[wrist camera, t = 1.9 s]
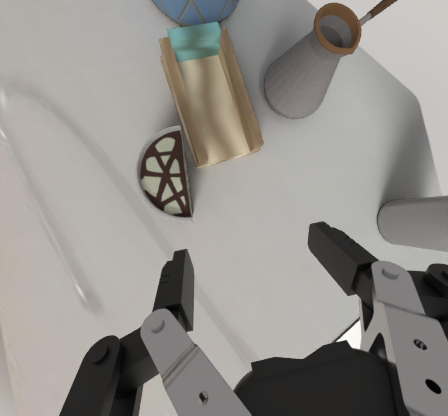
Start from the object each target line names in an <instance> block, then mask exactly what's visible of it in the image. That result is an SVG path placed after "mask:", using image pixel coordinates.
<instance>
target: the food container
mask: <svg viewBox="0 0 448 416" xmlns="http://www.w3.org/2000/svg"><path fill="white" fill-rule="evenodd" d="M181 131H182V130H181V126H180V125H178V126H172V127H169V128H166V129H163V130H161V131H159V132H158V133H156V134H155V135H153V136H152V137H151V138H150V139H149V140H148V141H147V142H146V144H145V145H144V146H143V148H142V150H141V152H140V154H139V157H138V160H137V164H136V180H137V185H138V188H139V190H140V193H141V195H142V196H143V198H144V200H145V201H146V203H147V204H148V205H149V206H150V207H151V208H152V209H153V210H154V211H155V212H156V213H158V214H159V215H161V216H163V217H165V218H167V219H169V220H172V221H176V222H184V223H190V222H193V220H192V216H193V205H192V197H191V189H190V181H189V173H188V165H187V158H186V153H185V148H184V142H183V137H182V132H181Z"/></svg>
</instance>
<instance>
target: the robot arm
mask: <svg viewBox="0 0 448 416" xmlns="http://www.w3.org/2000/svg"><path fill="white" fill-rule="evenodd" d="M378 227H379V231H380V233H381V235H382V236H383V238H384V239H386V240H387V241H388V242H390V243H392V244H396V245H403V246H410V247H417V248H424V249H431V250H438V251H445V252H448V196H437V197H426V198H413V199H402V200H392V201H389V202H387V203H386V204H385V205H384V206H383V207H382V208H381V210H380V212H379V215H378ZM308 247H309V249H310V251H311V252H312V253H313V255H314V256H315V257H316V258H317V259H318V261H319V262H320V263H321V264H322V265H323V267H324V268H325V269H326V270H327V271H328V273H329V274H330V275H331V276H332V277H333V279H334V280H335V281H336V282H337V283H338V285H339V286H340V287H341V288H342V289H343V291H344V292H345V293H346V294H347V295H348V296H350V295H354V294H357V295H358V296H359V297H360V298H359V312H360V323H361V344H360V349H356V348H352V347H351V346H350V344H349V343H348V341H347V340H344V341H339V342H335V343H331V344H327V345H323V346H322V347H320V348H319V349H317V350H316V351H315V352H313V353H312V354H310V355H309V356H307V357H306V358H304V359H292V358H281V357H273V358H269V359H264V360H260V361H256V362H252V363H251V366H252V371H250V372H249V373H247V374H246V375H245V376H244V377H243V378H242V379H241V380H240V381H239V383H238V384H237V385H236V387H235V389H234V390H232V389H231V388H230V386H229V385H228V384H227V382H226V381H225V380H224V378H223V377H222V376H221V375H220V373H219V372H218V371H217V369H216V368H215V367H214V365H213V364H212V363H211V362H210V360H209V359H208V358H207V356H206V355H205V354H204V352H203V351H202V350H201V349H200V347H199V346H198V345H197V344H195V343H194V342H193V341H192V340H191V338H190V337H189V336H188V334H187V332H189V331H193V312H194V269H193V265H192V262H191V259H190V256H189V253H188V250H187V249H184V250H179V251H175V252H174V256H173V260H172V261H167V263H166V264H165V266H164V267H163V269H162V272H161V278H160V281H159V285H158V290H157V294H156V298H155V303H154V307H153V311H152V313H151V314H150V315H149V316H148V317H147V318H146V319H145V321H144V322H143V324H142V326H141V327H140V328H139V329H137V330H135V331H133V332H132V333H130V334H128V335H126V336H124V337H123V338H121V339H118V337H116V336H114V335H110V336H106V337H104V338H102V339H100V340H99V341H98V342H96V343H95V344H94V345H93V346H92V347H91V348H90V349H89V351H88V352H87V353H86V355H85V357H84V359H83V361H82V363H81V365H80V368H79V370H78V373H77V375H76V377H75V380H74V382H73V384H72V387H71V389H70V391H69V394H68V396H67V398H66V401H65V403H64V405H63V408H62V410H61V412H60V415H59V416H138V415H139V409H140V402H141V396H142V390H143V384H144V383H145V382H147V381H148V380H150V379H152V378H153V377H155V376H156V375H158V374H159V373H160V375H161V378H162V380H163V385H164V388H165V390H166V392H167V394H168V396H169V398H170V400H171V402H172V404H173V406H174V408H175V410H176V412H177V414H178V416H448V265H446V264H431V265H430V266H429V267H428V269H427V270H426V272H424V271H407V270H405V269H404V268H402V267H400V266H399V265H396V264H394V263H391V262H387V261H379V260H378V259H377V258H375V257H374V256H373V255H372V254H370V253H369V252H368V251H367V250H365V249H364V248H363V247H361V246H360V245H359V244H358V243H356V242H355V241H354V240H353V239H351V238H350V237H349V236H348V235H346V234H345V233H344V232H343V231H340V230H338V229H336V228H334V227H333V228H331V227H330V226H329V225H328V224H327V223H325V222H323V221H322V222H317V223H312V224H310V227H309V235H308Z"/></svg>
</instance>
